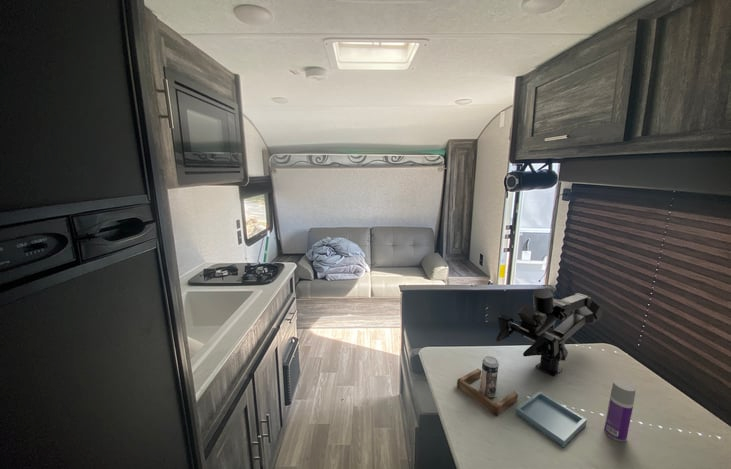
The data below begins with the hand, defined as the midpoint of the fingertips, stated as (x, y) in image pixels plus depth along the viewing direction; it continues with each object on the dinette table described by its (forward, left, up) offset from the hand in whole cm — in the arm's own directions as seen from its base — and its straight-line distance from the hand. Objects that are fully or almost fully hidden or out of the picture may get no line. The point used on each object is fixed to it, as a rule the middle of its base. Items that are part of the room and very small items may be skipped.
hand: (509, 347), depth 92 cm
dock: (+5, -3, -16) cm, 17 cm away
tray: (-1, +13, -16) cm, 21 cm away
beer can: (+5, -3, -16) cm, 17 cm away
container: (-11, +25, -16) cm, 32 cm away
